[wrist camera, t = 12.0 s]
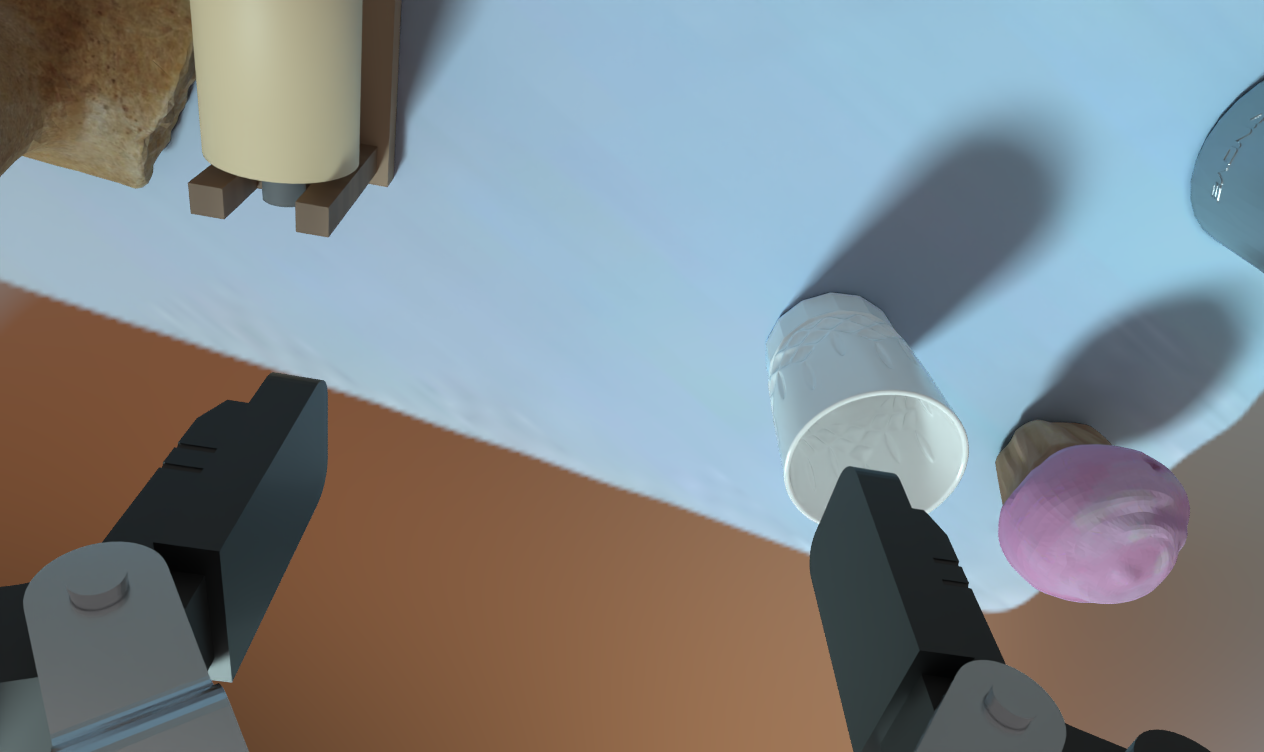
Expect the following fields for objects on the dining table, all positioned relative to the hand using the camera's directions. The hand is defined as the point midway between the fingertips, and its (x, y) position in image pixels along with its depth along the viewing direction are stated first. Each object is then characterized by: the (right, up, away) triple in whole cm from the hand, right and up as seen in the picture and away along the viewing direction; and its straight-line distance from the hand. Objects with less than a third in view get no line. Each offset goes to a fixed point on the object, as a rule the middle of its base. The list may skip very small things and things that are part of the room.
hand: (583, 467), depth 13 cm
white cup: (+11, +3, +31) cm, 34 cm away
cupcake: (+24, -3, +35) cm, 43 cm away
